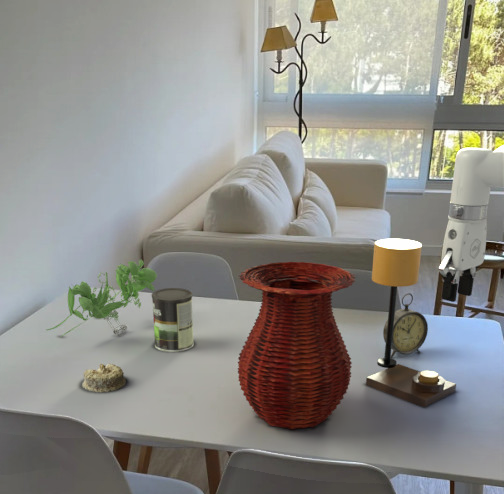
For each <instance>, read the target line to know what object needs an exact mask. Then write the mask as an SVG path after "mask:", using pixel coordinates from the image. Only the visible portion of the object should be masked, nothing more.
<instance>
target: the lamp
mask: <svg viewBox="0 0 504 494" xmlns="http://www.w3.org/2000/svg"><path fill="white" fill-rule="evenodd" d="M422 247H423V245H422V243H421V242H419V241H416V240H412V239H406V238H405V239H404V238H383V239H379V240H376V241H374V245H373V257H372V269H371V270H372V271H371V281H372V282H373V283H375V284H378V285H382V286H386V287H390V293H389V301H388V302H389V304H388V313H387V320H388V323H387V334H386V343H385V345H384V357H381V358H379V359H377V360H376V361H377V362H376V364H377V366H378V367H380V368H383V369H387V368H393V367H395V366H396V365H397V364H398V363H397V360H396V359H394V358H391V354H392V349H391V348H392V337H393V327H394V316H395V312H396V306H397V305H396V304H397V296H398V287H401V288H402V287H411V286H414V285H417V284H418V282H419V275H420V265H421V259H422V249H423V248H422Z"/></svg>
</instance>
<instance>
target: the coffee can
mask: <svg viewBox="0 0 504 494" xmlns="http://www.w3.org/2000/svg"><path fill="white" fill-rule="evenodd" d="M151 300H152V315H153V331H154V332H153V334H154V335H153V336H154V348H155V349H157V350H159V351H161V352H167V353H175V352H176V353H177V352H178V353H179V352H183V351H187V350H190V349H192V348H193V347H194V321H193V320H194V319H193V318H194V317H193V292H192V291H191V290H189V289H186V288H179V287H165V288H161V289H157V290H155V291H153V292H152V293H151Z"/></svg>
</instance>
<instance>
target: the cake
mask: <svg viewBox="0 0 504 494" xmlns="http://www.w3.org/2000/svg"><path fill="white" fill-rule="evenodd" d="M123 371H124V370H123V368H121V367H120V366H118V365H116V364H112V363H107V364H106V365H105V364H103V363H100V364H99V368H98V369H92V368H91V369H86V370H84V373H83V374H82V375H83V381H82V382H81V386H82V388H83V389H85V390H88V391H89V392H95V393H104V392H105V393H108V392H114V391H117V390H119V389H121V388H123V387H125V385H126V384H127V380H126V378H125V376H124V372H123Z"/></svg>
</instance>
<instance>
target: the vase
mask: <svg viewBox="0 0 504 494" xmlns="http://www.w3.org/2000/svg"><path fill="white" fill-rule="evenodd" d="M238 277H239V280H241V281H242V284H245V285H247V286H248V287H250V288H253V289H256V290H258V291H261V294H262V296H261V298H262V299H261V303H260V308H259V309H258V311H259V312H258V315H257V317H256V318H255V322H253V324H254V325H253V326H252V329H250V332H249V333H248V336H247V337H246V339H247V340H245V341H244V345H243V346H242V349H241V350H240V353H238V355H239V357H238V359H237V360H238V361H237V364H238V368H237V374H238V376H237V377H238V380H237V381H238V382H239V386H240V390H241V391H243V393H242V395H243V396H244V397H245V399H246V400H245V401H247V402H248V404H249V406H250V407H251V408H252V410H253V412H254V413H256V415H257V416H258V418H260V419H261V420H262V421H264V422H265V423H267V424H268V425H270V426H271V427H272V426H273V427H277V428H283V429H288V430H299V429H307V428H315V427H316V426H318V425H319V424H321V423H324V422H325V421H326V420H327V419H328V417H330V416H331V415H332V414H333V412H334V411H335V410H336V409H337V408H338V406H339V405H340V404H341V401H342V400H344V399H345V398H344V396H345V395H346V394H347V390H349V386H350V384H351V383H350V382H351V377H352V372H351V369H352V363H353V362H352V361H351V360H352V358H351V357H350V354H349V353H348V352H349V350H348V349H347V345H346V344H345V340H343V336H342V333H341V332H340V329H339V326H338V324H337V322H336V319H335V316H334V312H333V311H334V308H332V307H333V305H332V303H333V302H332V300H333V298H332V296H333V295H332V294H333V293H334V292H338V291H340V290H343V289H347V288H349V287H350V286H353V283H355V282H356V276H355V274H354V273H352V272H350V271H349V270H345V269H343V268H342V267H339V266H336V265H335V266H334V265H328V264H325V263H316V262H305V261H285V262H279V261H277V262H270V263H265V264H264V263H263V264H258V265H256V266H250V268H246V269H245V270H244V271H242V272H240V275H238Z"/></svg>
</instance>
